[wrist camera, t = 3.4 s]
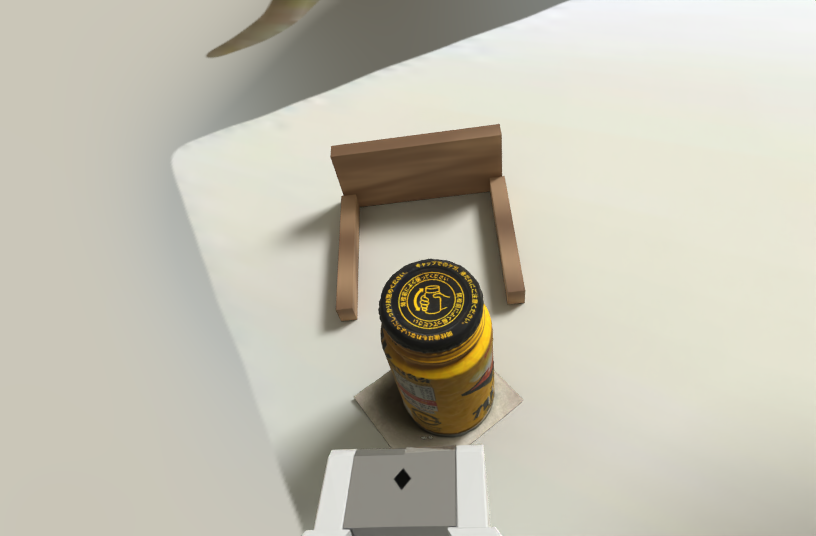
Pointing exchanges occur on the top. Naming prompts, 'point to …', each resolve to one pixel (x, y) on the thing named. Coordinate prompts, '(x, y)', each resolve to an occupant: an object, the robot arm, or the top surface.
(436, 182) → the corral
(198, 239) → the top surface
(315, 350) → the top surface
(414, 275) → the condiment
